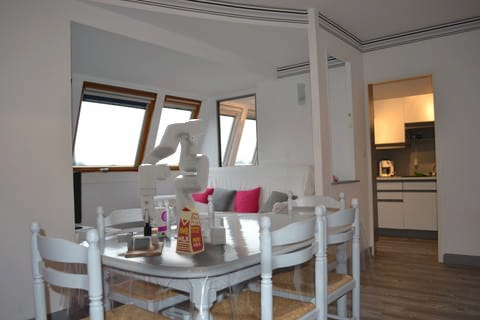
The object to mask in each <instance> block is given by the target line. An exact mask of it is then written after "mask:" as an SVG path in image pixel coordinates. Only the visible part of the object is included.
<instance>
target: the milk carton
mask: <svg viewBox="0 0 480 320" xmlns="http://www.w3.org/2000/svg"><path fill="white" fill-rule="evenodd" d="M202 229H203V227H202V221H201V217H200V212H199V211H198V210H197V208H196V205H195V206H189V205H187V204H185V208H184V209H183V210H182V212H181V218H180V223H179V230H178V237H177V239H176V245H175V253H177V254H184V255H191V256H193V255H197V254H199V253H201V252H204V251H205V241H204V235H203V234H204V233H202Z"/></svg>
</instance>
